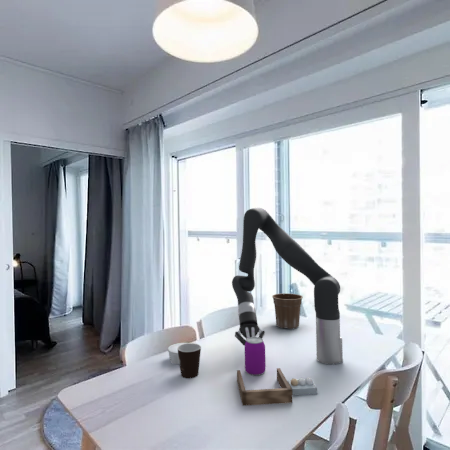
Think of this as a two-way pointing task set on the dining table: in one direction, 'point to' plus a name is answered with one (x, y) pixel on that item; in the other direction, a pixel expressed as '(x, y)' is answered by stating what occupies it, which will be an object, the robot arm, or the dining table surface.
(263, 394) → the walnut U-seat
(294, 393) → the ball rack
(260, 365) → the beverage can
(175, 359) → the ramekin
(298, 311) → the plant pot
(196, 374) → the coffee mug
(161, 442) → the dining table surface
